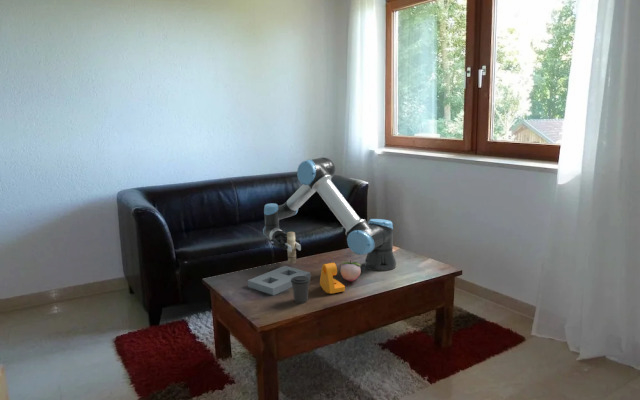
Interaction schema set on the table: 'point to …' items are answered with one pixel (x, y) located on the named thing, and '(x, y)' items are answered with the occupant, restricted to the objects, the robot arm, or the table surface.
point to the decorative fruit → (350, 270)
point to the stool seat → (276, 280)
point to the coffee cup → (300, 288)
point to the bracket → (330, 279)
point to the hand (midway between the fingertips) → (295, 248)
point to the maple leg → (292, 243)
